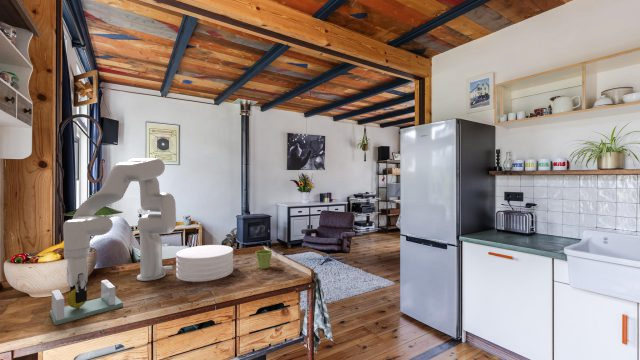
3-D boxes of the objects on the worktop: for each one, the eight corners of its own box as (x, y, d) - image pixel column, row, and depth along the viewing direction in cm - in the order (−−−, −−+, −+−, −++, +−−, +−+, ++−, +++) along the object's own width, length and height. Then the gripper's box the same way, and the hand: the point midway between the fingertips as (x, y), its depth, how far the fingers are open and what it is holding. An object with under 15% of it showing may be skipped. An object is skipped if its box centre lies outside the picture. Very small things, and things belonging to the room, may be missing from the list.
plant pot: (257, 264, 172) (257, 249, 172) (274, 265, 172) (274, 249, 172) (253, 269, 163) (253, 253, 163) (270, 270, 163) (270, 254, 163)
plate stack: (222, 282, 145) (222, 258, 145) (165, 281, 145) (165, 258, 145) (239, 264, 173) (239, 245, 173) (191, 264, 173) (191, 244, 173)
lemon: (67, 308, 112) (66, 287, 111) (86, 304, 115) (85, 283, 115) (69, 313, 108) (68, 291, 107) (88, 308, 112) (87, 287, 111)
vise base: (114, 298, 125) (114, 277, 125) (122, 306, 117) (122, 284, 117) (50, 314, 110) (49, 291, 110) (54, 325, 102) (54, 300, 102)
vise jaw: (107, 295, 123) (106, 279, 123) (115, 303, 115) (115, 286, 115) (101, 296, 122) (100, 280, 122) (109, 305, 114) (109, 288, 114)
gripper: (60, 250, 114) (61, 294, 115) (68, 259, 103) (69, 308, 103) (84, 246, 120) (86, 289, 120) (95, 254, 108) (96, 301, 109)
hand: (78, 298), depth 112 cm, fingers open, 9 cm apart
